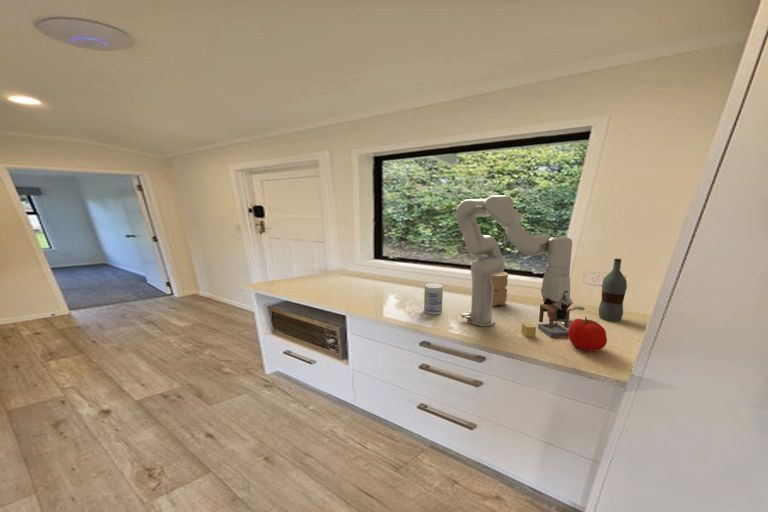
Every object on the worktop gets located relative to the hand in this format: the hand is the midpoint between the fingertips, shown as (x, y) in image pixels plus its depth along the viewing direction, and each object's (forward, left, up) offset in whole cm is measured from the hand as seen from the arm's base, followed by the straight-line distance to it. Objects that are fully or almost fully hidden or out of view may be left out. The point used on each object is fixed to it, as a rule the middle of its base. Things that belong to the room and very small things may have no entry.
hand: (553, 314), depth 107 cm
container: (+2, +51, -15) cm, 53 cm away
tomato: (+14, -1, -15) cm, 20 cm away
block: (-2, +12, -14) cm, 19 cm away
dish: (+11, +13, -14) cm, 22 cm away
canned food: (+23, +28, -15) cm, 39 cm away
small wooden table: (0, 0, -4) cm, 4 cm away
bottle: (+47, +23, -15) cm, 54 cm away
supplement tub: (-36, +43, -15) cm, 58 cm away
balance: (+22, +20, -14) cm, 33 cm away
